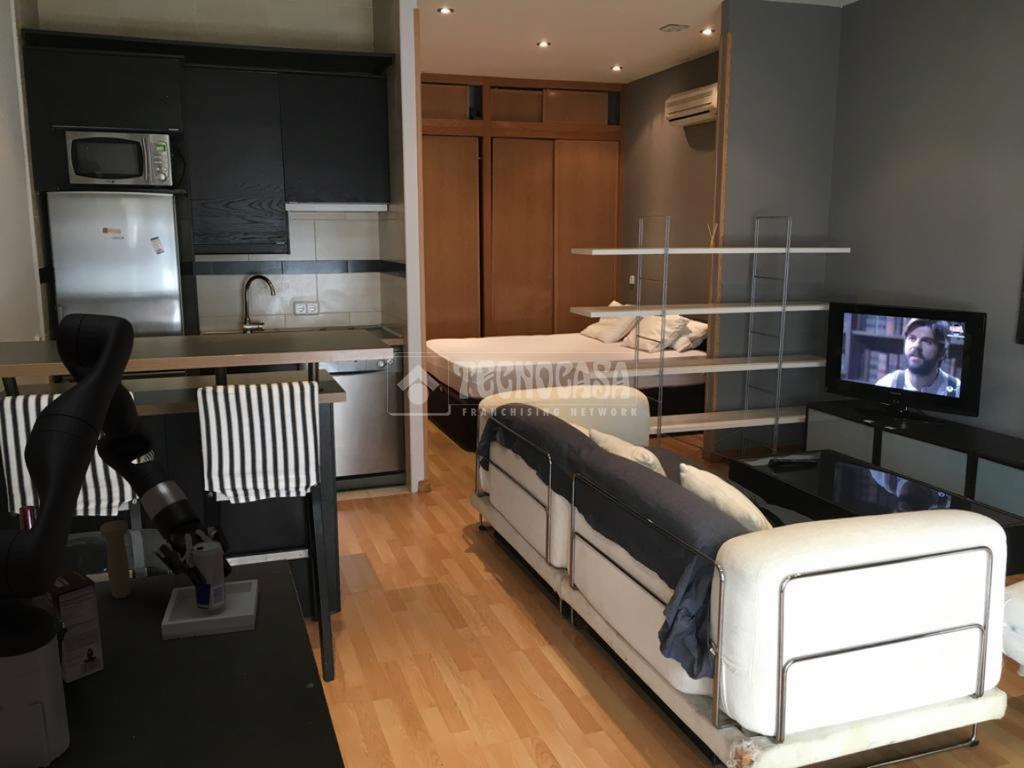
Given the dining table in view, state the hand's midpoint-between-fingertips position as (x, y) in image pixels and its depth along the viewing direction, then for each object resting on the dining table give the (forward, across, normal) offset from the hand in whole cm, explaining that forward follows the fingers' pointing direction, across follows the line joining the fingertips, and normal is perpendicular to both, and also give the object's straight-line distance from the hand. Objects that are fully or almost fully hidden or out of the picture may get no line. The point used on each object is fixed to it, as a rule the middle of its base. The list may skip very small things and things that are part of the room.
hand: (215, 580), depth 159 cm
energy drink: (+3, 0, +5) cm, 6 cm away
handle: (-12, -4, +23) cm, 26 cm away
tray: (+4, 0, +7) cm, 8 cm away
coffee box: (+1, -25, +10) cm, 27 cm away
